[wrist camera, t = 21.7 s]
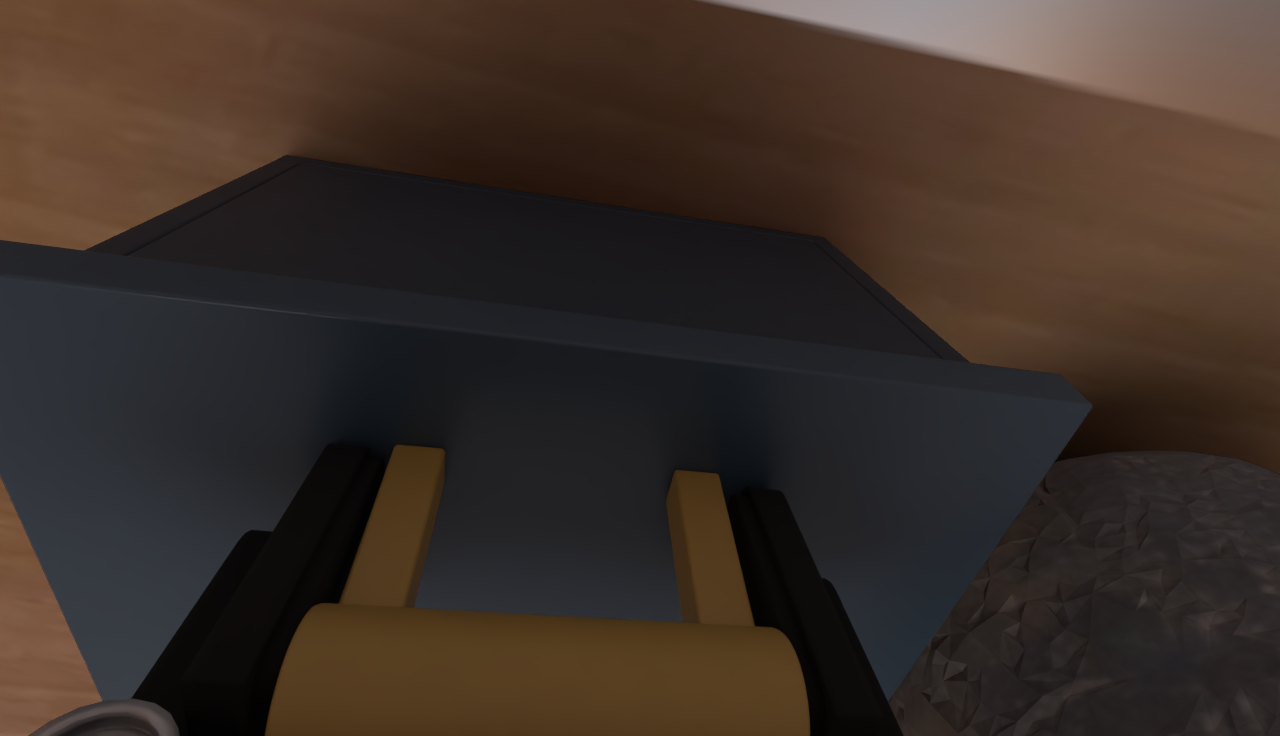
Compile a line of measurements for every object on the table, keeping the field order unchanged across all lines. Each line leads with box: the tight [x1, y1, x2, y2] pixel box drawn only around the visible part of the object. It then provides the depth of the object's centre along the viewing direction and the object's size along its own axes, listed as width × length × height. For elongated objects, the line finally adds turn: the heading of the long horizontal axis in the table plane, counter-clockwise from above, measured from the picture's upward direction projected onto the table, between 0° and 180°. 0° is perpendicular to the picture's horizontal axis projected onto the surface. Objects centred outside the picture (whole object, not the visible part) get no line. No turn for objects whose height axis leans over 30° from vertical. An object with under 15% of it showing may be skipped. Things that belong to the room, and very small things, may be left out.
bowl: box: [888, 450, 1280, 736], centre depth 20 cm, size 18×18×15 cm
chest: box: [84, 155, 970, 363], centre depth 18 cm, size 13×15×9 cm
